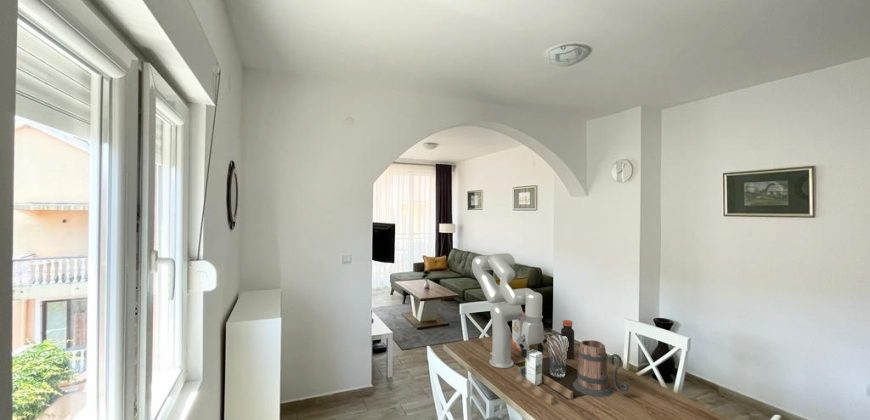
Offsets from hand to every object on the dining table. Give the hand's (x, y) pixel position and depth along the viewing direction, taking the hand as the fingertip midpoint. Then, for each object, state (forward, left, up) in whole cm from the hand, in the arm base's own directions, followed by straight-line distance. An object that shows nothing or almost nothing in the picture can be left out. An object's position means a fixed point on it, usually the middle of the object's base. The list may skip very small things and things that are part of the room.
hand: (532, 355), depth 170 cm
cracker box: (-38, +22, -13) cm, 46 cm away
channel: (+7, 0, -13) cm, 15 cm away
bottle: (-16, +37, -13) cm, 42 cm away
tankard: (+18, +23, -13) cm, 32 cm away
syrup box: (+1, 0, -13) cm, 13 cm away
